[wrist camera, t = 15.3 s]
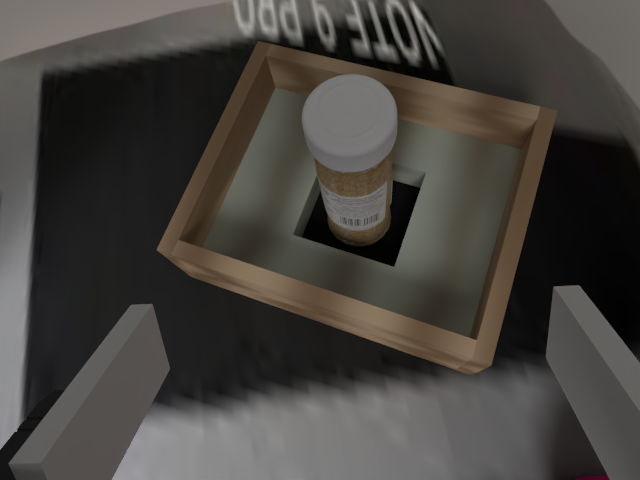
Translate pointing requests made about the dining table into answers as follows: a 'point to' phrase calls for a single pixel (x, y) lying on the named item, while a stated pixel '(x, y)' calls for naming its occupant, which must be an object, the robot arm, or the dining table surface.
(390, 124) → the sprinkles bottle
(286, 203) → the bore box
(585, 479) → the pepper mill
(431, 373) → the dining table surface
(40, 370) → the dining table surface
